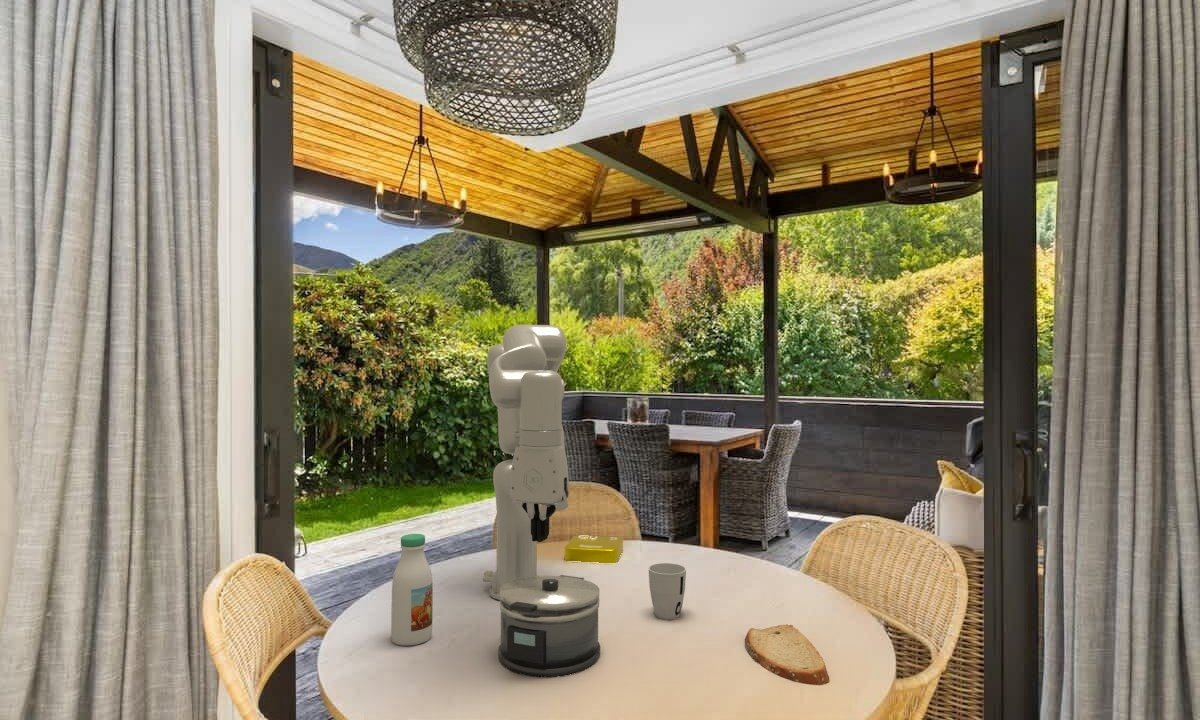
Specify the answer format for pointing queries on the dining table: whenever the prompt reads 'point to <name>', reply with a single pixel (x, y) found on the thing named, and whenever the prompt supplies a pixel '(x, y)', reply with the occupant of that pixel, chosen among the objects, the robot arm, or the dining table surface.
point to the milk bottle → (412, 594)
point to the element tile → (594, 549)
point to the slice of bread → (787, 654)
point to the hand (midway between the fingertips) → (539, 539)
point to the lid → (549, 593)
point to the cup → (667, 589)
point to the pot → (549, 640)
